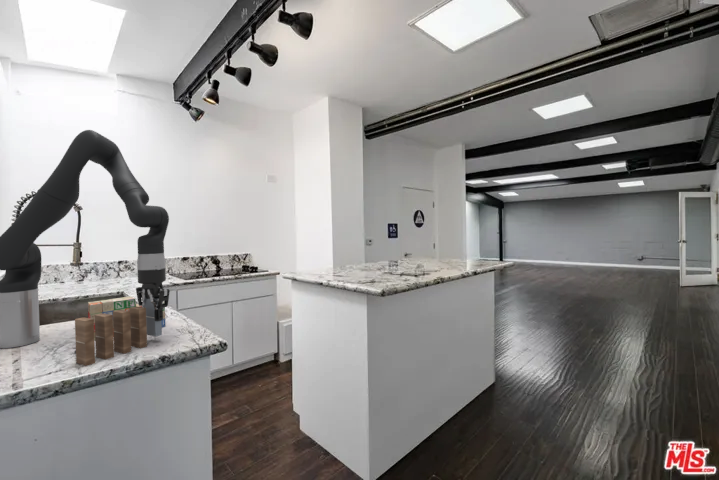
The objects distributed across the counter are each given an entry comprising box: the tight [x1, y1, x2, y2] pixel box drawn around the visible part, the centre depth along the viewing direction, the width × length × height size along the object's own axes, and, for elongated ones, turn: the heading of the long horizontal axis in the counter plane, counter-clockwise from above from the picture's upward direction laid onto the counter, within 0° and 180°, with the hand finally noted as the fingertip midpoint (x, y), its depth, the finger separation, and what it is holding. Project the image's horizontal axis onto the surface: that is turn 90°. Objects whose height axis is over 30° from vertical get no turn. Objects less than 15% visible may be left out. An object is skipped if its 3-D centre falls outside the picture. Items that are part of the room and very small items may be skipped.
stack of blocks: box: [87, 295, 166, 342], centre depth 111 cm, size 21×6×12 cm, turn 136°
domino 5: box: [145, 298, 163, 337], centre depth 100 cm, size 2×5×12 cm, turn 65°
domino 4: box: [129, 306, 148, 349], centre depth 96 cm, size 2×5×12 cm, turn 65°
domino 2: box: [94, 313, 115, 360], centre depth 88 cm, size 2×5×12 cm, turn 65°
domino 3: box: [113, 310, 132, 355], centre depth 92 cm, size 2×5×12 cm, turn 65°
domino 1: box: [74, 316, 96, 367], centre depth 84 cm, size 2×5×12 cm, turn 65°
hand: (153, 319), depth 100 cm, fingers closed on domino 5, 5 cm apart
